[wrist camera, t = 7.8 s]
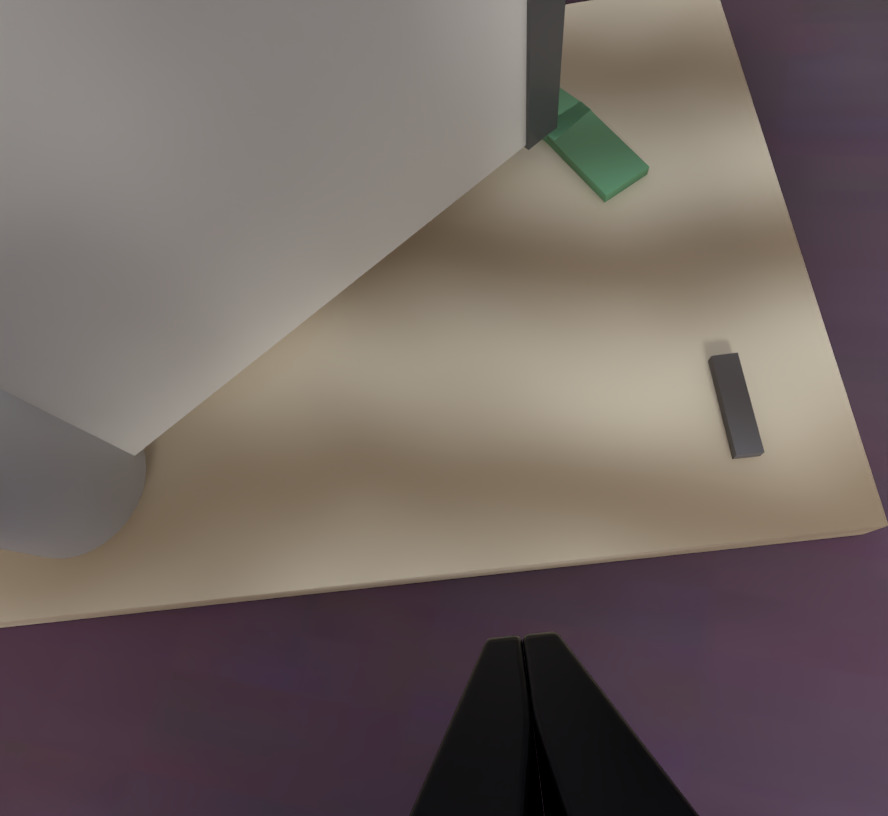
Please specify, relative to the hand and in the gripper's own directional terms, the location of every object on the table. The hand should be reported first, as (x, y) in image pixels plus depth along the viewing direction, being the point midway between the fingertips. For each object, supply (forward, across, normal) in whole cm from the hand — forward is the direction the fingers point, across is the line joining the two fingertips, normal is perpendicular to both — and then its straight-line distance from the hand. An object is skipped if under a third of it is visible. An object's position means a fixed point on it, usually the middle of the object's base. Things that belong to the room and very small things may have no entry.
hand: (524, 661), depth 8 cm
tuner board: (+12, +3, -2) cm, 13 cm away
